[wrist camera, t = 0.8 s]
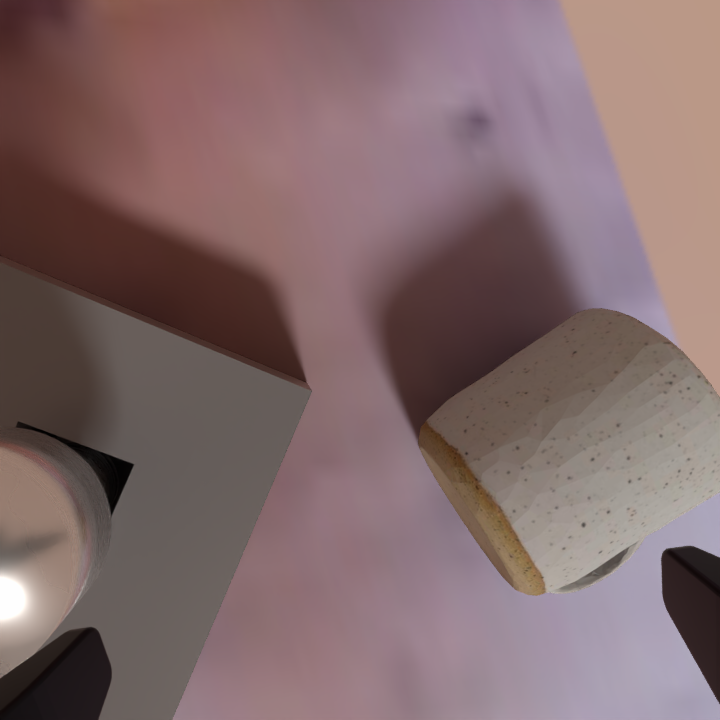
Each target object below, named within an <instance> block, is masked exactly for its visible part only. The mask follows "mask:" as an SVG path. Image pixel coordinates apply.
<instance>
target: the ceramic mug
mask: <svg viewBox="0 0 720 720" xmlns="http://www.w3.org/2000/svg"><path fill="white" fill-rule="evenodd" d="M418 445H419V448H420V450H421V453H422V455H423V457H424V459H425V461H426V463H427V464H428V466H429V468H430V470H431V472H432V473H433V475H434V477H435V479H436V480H437V482H438V483H439V485H440V487H441V488H442V490H443V491H444V493H445V495H446V496H447V498H448V499H449V501H450V502H451V504H452V505H453V507H454V509H455V510H456V512H457V513H458V515H459V516H460V518H461V519H462V521H463V522H464V524H465V525H466V527H467V528H468V530H469V531H470V533H471V534H472V536H473V537H474V539H475V540H476V542H477V543H478V544H479V546H480V547H481V549H482V550H483V551H484V553H485V554H486V555H487V557H488V558H489V560H490V561H491V562H492V564H493V565H494V566H495V568H496V569H497V570H498V572H499V573H500V574H501V576H502V577H503V578H504V579H505V580H506V581H507V582H508V583H509V584H510V585H511V586H512V587H513V588H514V589H515V590H517V591H520V592H522V593H525V594H527V595H535V596H537V595H541V594H544V593H547V592H550V593H558V594H565V593H571V592H576V591H579V590H582V589H585V588H587V587H590V586H591V585H593V584H595V583H597V582H599V581H601V580H603V579H604V578H606V577H608V576H609V575H611V574H612V573H613V572H615V571H616V570H617V569H618V568H619V567H620V566H621V565H623V564H624V563H625V562H626V561H627V560H628V559H629V558H630V557H631V556H632V555H633V554H634V552H635V551H636V550H637V549H638V548H639V546H640V545H641V543H642V542H643V540H644V538H645V537H646V536H647V535H649V534H651V533H653V532H655V531H657V530H659V529H660V528H662V527H663V526H665V525H667V524H668V523H670V522H671V521H673V520H674V519H676V518H678V517H679V516H681V515H683V514H684V513H686V512H688V511H690V510H691V509H693V508H694V507H696V506H698V505H699V504H701V503H703V502H704V501H706V500H708V499H709V498H711V497H712V496H714V495H716V494H717V493H719V492H720V397H719V396H718V394H717V393H716V391H715V390H714V388H713V387H712V385H711V384H710V383H709V382H708V380H707V379H706V378H705V376H704V375H703V374H702V373H701V371H700V370H699V369H698V368H697V367H696V366H695V365H694V363H693V362H692V361H691V360H690V359H689V358H688V357H687V356H686V355H685V354H684V352H683V351H681V350H680V349H679V348H678V347H677V346H676V345H674V344H673V343H672V342H671V341H670V340H668V339H667V338H666V337H664V336H663V335H661V334H660V333H658V332H657V331H655V330H654V329H652V328H650V327H649V326H647V325H645V324H644V323H642V322H640V321H639V320H637V319H635V318H633V317H631V316H628V315H626V314H623V313H620V312H617V311H613V310H608V309H602V308H600V309H588V310H584V311H581V312H578V313H576V314H575V315H573V316H572V317H570V318H569V319H567V320H566V321H564V322H563V323H561V324H560V325H558V326H557V327H556V328H554V329H553V330H551V331H550V332H548V333H547V334H545V335H544V336H542V337H541V338H539V339H538V340H536V341H535V342H533V343H532V344H530V345H529V346H527V347H526V348H524V349H523V350H521V351H520V352H518V353H517V354H515V355H514V356H512V357H511V358H509V359H508V360H507V361H505V362H504V363H503V364H501V365H500V366H498V367H497V368H496V369H494V370H493V371H491V372H490V373H488V374H487V375H485V376H484V377H482V378H481V379H479V380H478V381H476V382H475V383H473V384H472V385H470V386H468V387H467V388H465V389H463V390H462V391H460V392H459V393H457V394H456V395H454V396H453V397H451V398H450V399H449V400H447V401H446V402H445V403H444V404H443V405H442V406H441V407H440V408H439V409H438V410H437V411H436V412H434V413H433V414H432V415H431V416H430V417H429V418H428V419H427V420H426V422H425V423H424V424H423V425H422V427H421V429H420V434H419V440H418Z"/></svg>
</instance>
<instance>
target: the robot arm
mask: <svg viewBox="0 0 720 720" xmlns="http://www.w3.org/2000/svg"><path fill="white" fill-rule="evenodd" d="M661 565H662V594H663V600H664V603H665V606H666V609H667V611H668V613H669V615H670V617H671V619H672V620H673V622H674V624H675V626H676V627H677V629H678V631H679V633H680V635H681V636H682V638H683V640H684V642H685V643H686V645H687V647H688V649H689V651H690V652H691V654H692V656H693V658H694V659H695V661H696V663H697V665H698V667H699V668H700V670H701V672H702V674H703V675H704V677H705V679H706V681H707V683H708V684H709V686H710V688H711V690H712V691H713V693H714V695H715V697H716V699H717V700H718V702H719V704H720V557H717V556H715V555H713V554H710V553H708V552H706V551H703V550H701V549H699V548H696V547H694V546H683V547H675V548H668V549H666V550H664V551H663V553H662V558H661ZM111 679H112V667H111V663H110V661H109V658H108V655H107V652H106V649H105V647H104V644H103V641H102V638H101V635H100V633H99V631H98V630H97V629H96V628H94V627H84V628H77V629H71V630H68V631H66V632H65V633H63V634H62V635H60V636H59V637H58V638H56V639H55V640H53V641H52V642H51V643H49V644H48V645H46V646H45V647H43V648H42V649H41V650H39V651H38V652H36V653H35V654H34V655H32V656H31V657H29V658H28V659H26V660H25V661H24V662H22V663H21V664H19V665H18V666H17V667H15V668H14V669H12V670H11V671H9V672H8V673H7V674H5V675H4V676H2V677H1V678H0V720H99V717H100V714H101V711H102V708H103V705H104V702H105V699H106V696H107V693H108V690H109V687H110V684H111Z"/></svg>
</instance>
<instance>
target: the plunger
mask: <svg viewBox="0 0 720 720" xmlns="http://www.w3.org/2000/svg"><path fill="white" fill-rule="evenodd" d="M118 488H119V477H118V473H117V470H116V467H115V465H114V463H113V462H112V460H111V459H110V458H109V456H108V455H107V454H105V453H103V452H100V451H97V450H95V449H92V448H89V447H87V446H84V445H81V444H79V443H76V442H73V443H65V444H63V443H62V442H60V441H59V440H57V439H54V438H52V437H50V436H48V435H45V434H43V433H39V432H36V431H33V430H28V429H22V428H17V427H0V678H1V677H2V676H4V675H5V674H7V673H8V672H9V671H11V670H12V669H14V668H15V667H17V666H18V665H19V664H21V663H22V662H24V661H25V660H26V659H28V658H29V657H31V656H32V655H34V654H35V653H36V652H37V651H38V649H39V648H40V647H41V646H42V645H43V644H44V643H45V642H46V640H47V639H48V638H49V637H50V636H51V634H52V633H53V632H54V631H55V630H56V628H57V627H58V626H59V625H60V623H61V622H62V621H63V620H64V619H65V617H66V616H67V615H68V614H69V613H70V611H71V610H72V609H73V608H74V607H75V605H76V604H77V603H78V602H79V600H80V599H81V598H82V597H83V596H84V594H85V593H86V592H87V591H88V590H89V588H90V587H91V586H92V584H93V583H94V581H95V580H96V578H97V577H98V575H99V573H100V571H101V569H102V567H103V565H104V562H105V560H106V557H107V554H108V551H109V546H110V541H111V531H112V522H111V511H110V507H111V506H112V504H113V502H114V500H115V499H116V496H117V493H118Z"/></svg>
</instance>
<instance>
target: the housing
mask: <svg viewBox="0 0 720 720" xmlns="http://www.w3.org/2000/svg"><path fill="white" fill-rule="evenodd" d="M311 392H312V390H311V389H310V387H309V385H308V384H307V383H306V382H304V381H301V380H299V379H296V378H294V377H291V376H289V375H287V374H284V373H282V372H279V371H277V370H275V369H272V368H270V367H267V366H265V365H263V364H260V363H258V362H255V361H253V360H251V359H248V358H246V357H243V356H241V355H238V354H236V353H234V352H231V351H229V350H226V349H224V348H222V347H219V346H217V345H214V344H212V343H210V342H207V341H205V340H202V339H200V338H198V337H195V336H193V335H190V334H188V333H186V332H183V331H181V330H178V329H176V328H173V327H171V326H169V325H166V324H164V323H161V322H159V321H157V320H154V319H152V318H149V317H147V316H145V315H142V314H140V313H137V312H135V311H133V310H130V309H128V308H125V307H123V306H120V305H118V304H116V303H113V302H111V301H108V300H106V299H104V298H101V297H99V296H96V295H94V294H92V293H89V292H87V291H84V290H82V289H80V288H77V287H75V286H72V285H70V284H67V283H65V282H63V281H60V280H58V279H55V278H53V277H51V276H48V275H46V274H43V273H41V272H39V271H36V270H34V269H31V268H29V267H27V266H24V265H22V264H19V263H17V262H14V261H12V260H10V259H7V258H5V257H2V256H0V427H17V428H22V429H28V430H33V431H36V432H39V433H43V434H45V435H48V436H50V437H52V438H54V439H57V440H59V441H60V442H62V443H63V444H65V443H73V442H76V443H79V444H81V445H84V446H87V447H89V448H92V449H95V450H97V451H100V452H103V453H105V454H107V455H108V456H109V458H110V459H111V460H112V462H113V463H114V465H115V467H116V470H117V473H118V477H119V488H118V493H117V496H116V499H115V500H114V502H113V504H112V506H111V507H110V511H111V522H112V531H111V541H110V546H109V551H108V554H107V557H106V560H105V562H104V565H103V567H102V569H101V571H100V573H99V575H98V577H97V578H96V580H95V581H94V583H93V584H92V586H91V587H90V588H89V590H88V591H87V592H86V593H85V594H84V596H83V597H82V598H81V599H80V600H79V602H78V603H77V604H76V605H75V607H74V608H73V609H72V610H71V611H70V613H69V614H68V615H67V616H66V617H65V619H64V620H63V621H62V622H61V623H60V625H59V626H58V627H57V628H56V630H55V631H54V632H53V633H52V634H51V636H50V637H49V638H48V639H47V640H46V642H45V643H44V644H43V645H42V646H41V647H40V648H39V649H38V651H39V650H41V649H42V648H43V647H45V646H46V645H48V644H49V643H51V642H52V641H53V640H55V639H56V638H58V637H59V636H60V635H62V634H63V633H65V632H66V631H68V630H71V629H77V628H84V627H94V628H96V629H97V630H98V631H99V633H100V635H101V638H102V641H103V644H104V647H105V649H106V652H107V655H108V658H109V661H110V663H111V667H112V679H111V684H110V687H109V690H108V693H107V696H106V699H105V702H104V705H103V708H102V711H101V714H100V717H99V720H172V719H173V717H174V714H175V712H176V709H177V707H178V705H179V702H180V700H181V698H182V695H183V693H184V691H185V688H186V686H187V684H188V681H189V679H190V677H191V674H192V672H193V670H194V667H195V665H196V662H197V660H198V658H199V655H200V653H201V651H202V648H203V646H204V644H205V641H206V639H207V637H208V634H209V632H210V630H211V627H212V625H213V623H214V620H215V618H216V615H217V613H218V611H219V608H220V606H221V604H222V601H223V599H224V597H225V594H226V592H227V590H228V587H229V585H230V583H231V580H232V578H233V576H234V573H235V571H236V568H237V566H238V564H239V561H240V559H241V557H242V554H243V552H244V550H245V547H246V545H247V543H248V540H249V538H250V536H251V533H252V531H253V529H254V526H255V524H256V521H257V519H258V517H259V514H260V512H261V510H262V507H263V505H264V503H265V500H266V498H267V496H268V493H269V491H270V489H271V486H272V484H273V482H274V479H275V477H276V474H277V472H278V470H279V467H280V465H281V463H282V460H283V458H284V456H285V453H286V451H287V449H288V446H289V444H290V442H291V439H292V437H293V435H294V432H295V430H296V427H297V425H298V423H299V420H300V418H301V416H302V413H303V411H304V409H305V406H306V404H307V402H308V399H309V397H310V395H311ZM38 651H37V652H38Z"/></svg>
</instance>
